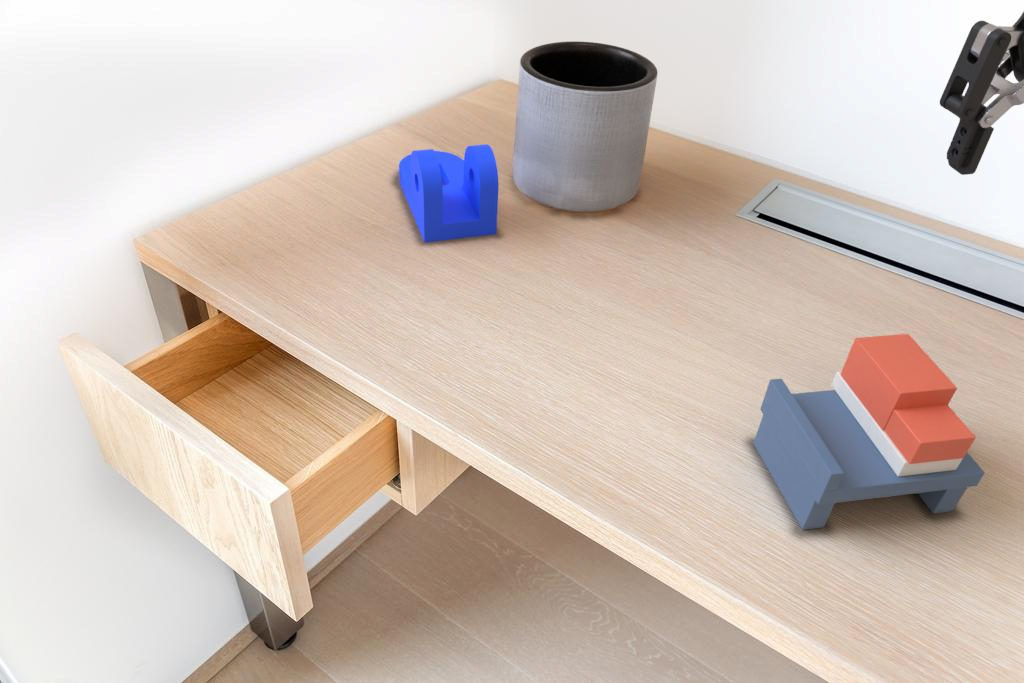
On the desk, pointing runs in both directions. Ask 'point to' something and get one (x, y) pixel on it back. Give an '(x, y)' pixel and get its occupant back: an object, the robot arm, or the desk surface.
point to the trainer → (903, 404)
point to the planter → (582, 125)
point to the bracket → (451, 192)
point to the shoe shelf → (839, 458)
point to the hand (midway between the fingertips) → (1009, 165)
